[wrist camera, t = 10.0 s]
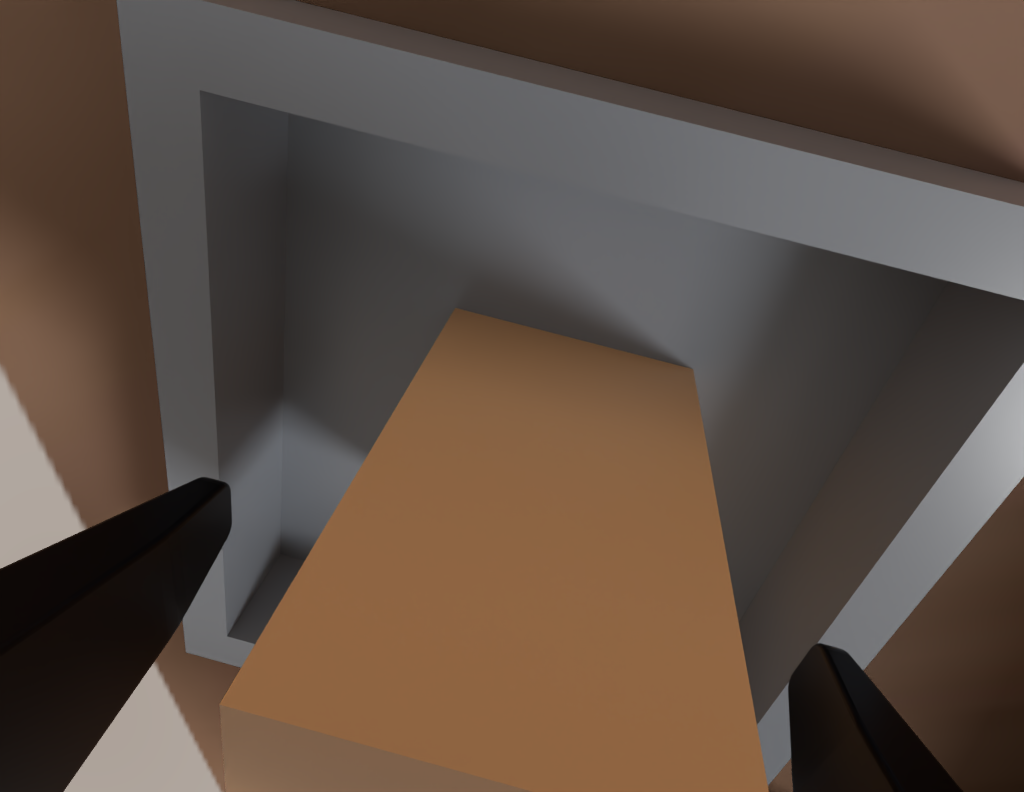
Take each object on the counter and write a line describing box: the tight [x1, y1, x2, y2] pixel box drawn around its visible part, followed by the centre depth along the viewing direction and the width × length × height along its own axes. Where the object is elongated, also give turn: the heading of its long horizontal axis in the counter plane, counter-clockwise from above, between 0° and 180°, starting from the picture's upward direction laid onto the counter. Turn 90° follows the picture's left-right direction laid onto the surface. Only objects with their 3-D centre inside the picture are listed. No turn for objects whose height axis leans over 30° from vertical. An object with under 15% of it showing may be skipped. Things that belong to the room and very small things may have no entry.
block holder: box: [117, 0, 1024, 785], centre depth 12 cm, size 13×13×3 cm
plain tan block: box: [219, 308, 769, 792], centre depth 10 cm, size 4×4×8 cm
